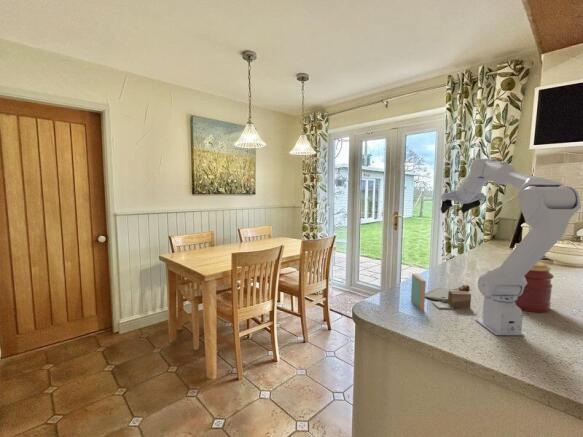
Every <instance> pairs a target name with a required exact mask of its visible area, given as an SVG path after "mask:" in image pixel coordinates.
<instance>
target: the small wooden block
mask: <svg viewBox="0 0 583 437" xmlns="http://www.w3.org/2000/svg"><path fill="white" fill-rule="evenodd" d="M471 302H472V293H470V292H469V291H467V290H465V291H449V293H448V302H443V301H431V303H433V304H434V305H433V304H432V305H433V306H434V307H435V308H436V309H438V310H454V309H471Z"/></svg>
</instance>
